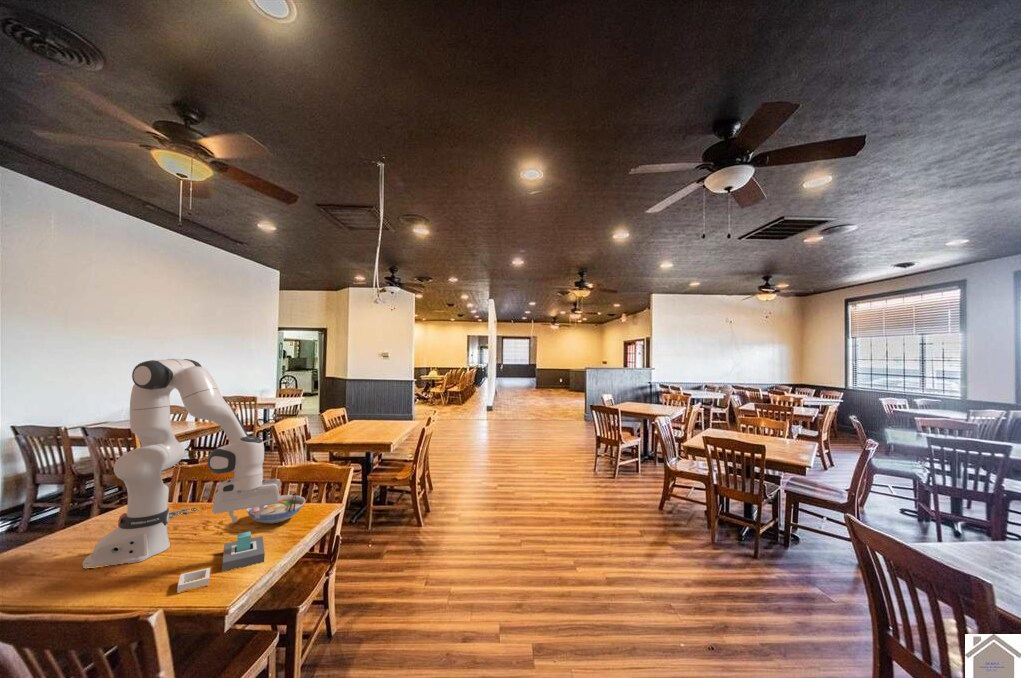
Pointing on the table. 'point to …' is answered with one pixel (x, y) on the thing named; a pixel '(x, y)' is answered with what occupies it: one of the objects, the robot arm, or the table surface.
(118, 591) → the table surface
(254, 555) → the socket block
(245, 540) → the plug
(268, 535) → the table surface
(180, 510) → the knife
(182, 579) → the white square frame
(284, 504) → the ramen bowl
